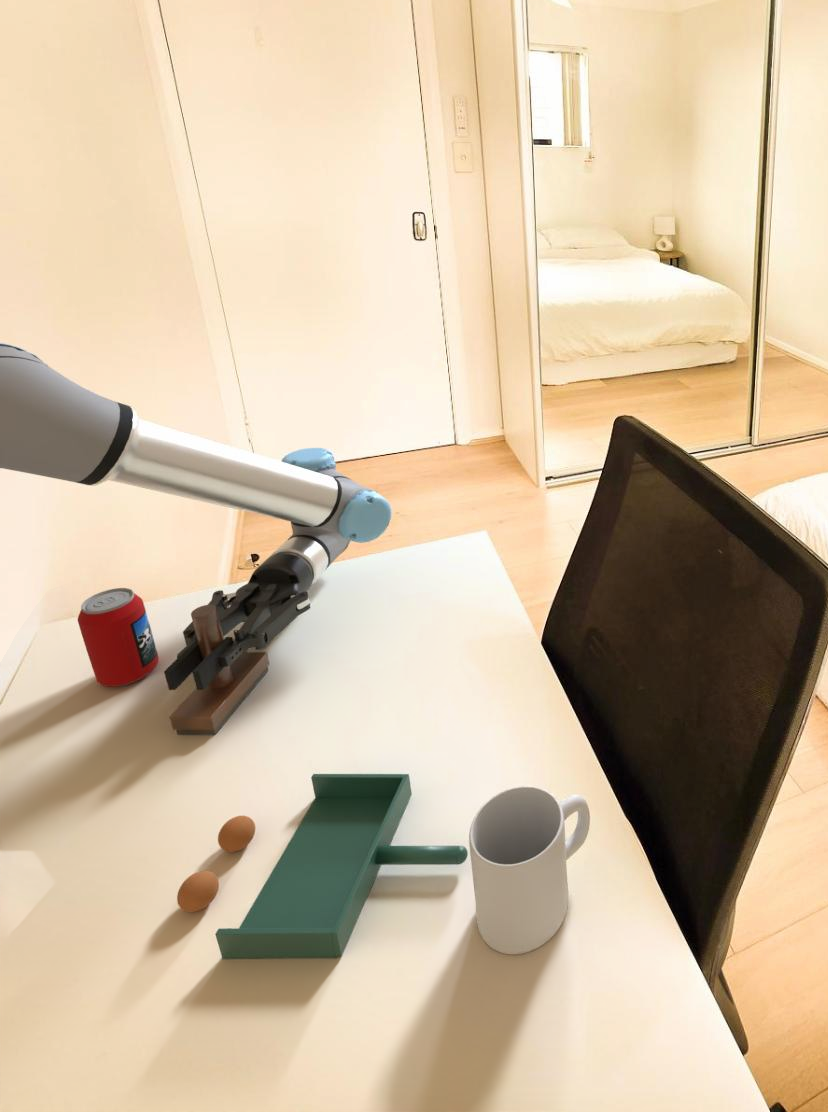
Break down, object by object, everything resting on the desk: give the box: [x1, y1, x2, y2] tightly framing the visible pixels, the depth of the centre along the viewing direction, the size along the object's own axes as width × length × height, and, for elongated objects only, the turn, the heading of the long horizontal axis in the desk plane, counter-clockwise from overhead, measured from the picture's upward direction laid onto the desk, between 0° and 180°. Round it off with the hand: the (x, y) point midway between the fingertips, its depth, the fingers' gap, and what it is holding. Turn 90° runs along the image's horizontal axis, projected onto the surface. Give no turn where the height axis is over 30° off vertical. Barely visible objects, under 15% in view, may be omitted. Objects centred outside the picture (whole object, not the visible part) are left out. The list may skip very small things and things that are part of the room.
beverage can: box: [77, 587, 160, 687], centre depth 92 cm, size 7×7×12 cm
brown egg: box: [176, 870, 220, 913], centre depth 65 cm, size 3×3×3 cm
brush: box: [169, 604, 270, 736], centre depth 88 cm, size 5×12×14 cm, turn 1°
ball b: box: [217, 815, 256, 853], centre depth 71 cm, size 3×3×3 cm
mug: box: [468, 785, 591, 955], centre depth 65 cm, size 12×8×11 cm
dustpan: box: [214, 773, 469, 960], centre depth 69 cm, size 19×17×3 cm
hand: (184, 680), depth 82 cm, fingers closed on brush, 3 cm apart
